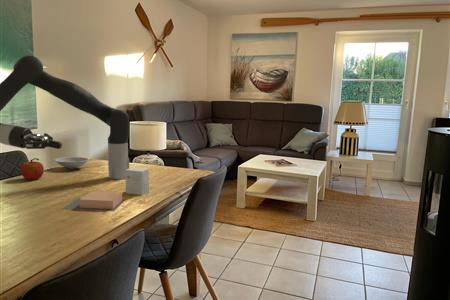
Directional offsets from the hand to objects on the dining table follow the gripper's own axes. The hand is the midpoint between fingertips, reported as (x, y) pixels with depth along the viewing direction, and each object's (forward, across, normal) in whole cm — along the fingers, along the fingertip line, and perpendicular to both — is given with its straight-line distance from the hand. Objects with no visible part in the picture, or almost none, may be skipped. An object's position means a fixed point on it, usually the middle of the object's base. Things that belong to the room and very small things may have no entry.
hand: (60, 145), depth 127 cm
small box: (+27, +12, +19) cm, 36 cm away
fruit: (-26, +28, +31) cm, 50 cm away
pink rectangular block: (+13, -4, +17) cm, 22 cm away
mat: (+17, -5, +18) cm, 25 cm away
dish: (-18, +53, +34) cm, 65 cm away
